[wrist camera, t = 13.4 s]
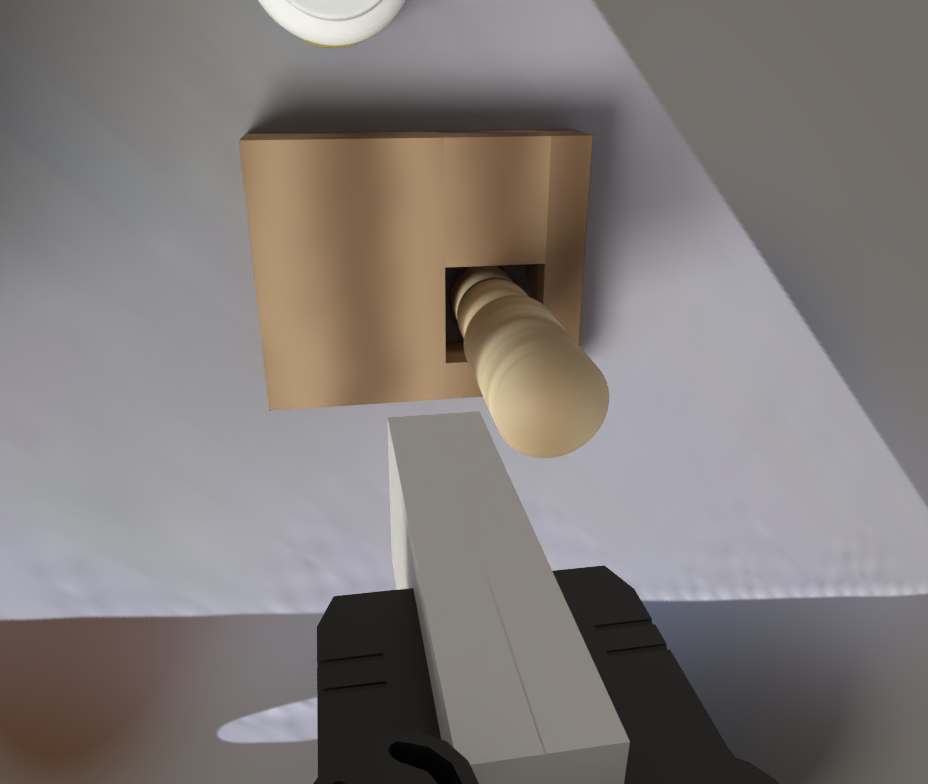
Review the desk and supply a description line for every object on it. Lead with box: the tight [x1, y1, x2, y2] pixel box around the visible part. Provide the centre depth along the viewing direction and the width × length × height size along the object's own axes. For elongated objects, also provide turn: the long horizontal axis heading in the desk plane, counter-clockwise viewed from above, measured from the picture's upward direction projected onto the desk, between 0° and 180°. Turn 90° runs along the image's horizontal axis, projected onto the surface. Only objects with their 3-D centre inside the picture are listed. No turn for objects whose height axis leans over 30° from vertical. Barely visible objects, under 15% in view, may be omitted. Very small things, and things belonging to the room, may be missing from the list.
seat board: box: [239, 130, 593, 411], centre depth 38 cm, size 16×13×3 cm
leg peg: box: [450, 266, 609, 458], centre depth 35 cm, size 4×4×14 cm
